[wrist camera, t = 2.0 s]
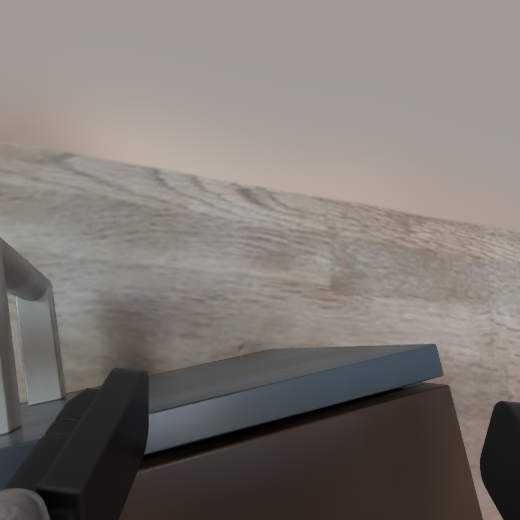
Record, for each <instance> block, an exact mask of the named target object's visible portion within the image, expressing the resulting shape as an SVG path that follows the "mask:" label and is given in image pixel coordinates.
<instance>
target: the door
mask: <svg viewBox="0 0 520 520" xmlns="http://www.w3.org/2000/svg"><path fill="white" fill-rule="evenodd" d="M7 292H8V293H10V294H12V295H14V296H15V300H16V309H17V317H18V326H19V334H20V343H21V351H22V359H23V368H24V376H25V385H26V393H27V402H25V403H19V395H18V386H17V377H16V369H15V360H14V351H13V343H12V334H11V326H10V317H9V308H8V300H7ZM440 376H443V371H442V367H441V363H440V359H439V355H438V351H437V347H436V345H435V344H416V345H385V346H353V347H321V348H289V349H270V350H265V351H260V352H256V353H251V354H246V355H242V356H237V357H233V358H228V359H223V360H219V361H214V362H210V363H205V364H200V365H196V366H191V367H186V368H182V369H177V370H173V371H168V372H163V373H159V374H154V375H150V376H148V377H149V432H148V440H147V445H146V450H145V453H144V455H148V454H152V453H155V452H159V451H163V450H167V449H170V448H174V447H178V446H182V445H185V444H189V443H193V442H197V441H200V440H204V439H208V438H212V437H215V436H219V435H223V434H227V433H230V432H234V431H238V430H242V429H245V428H249V427H253V426H257V425H260V424H264V423H268V422H272V421H275V420H279V419H283V418H287V417H290V416H294V415H298V414H302V413H305V412H309V411H313V410H317V409H320V408H324V407H328V406H332V405H335V404H339V403H343V402H347V401H350V400H354V399H358V398H362V397H365V396H369V395H373V394H377V393H380V392H384V391H388V390H392V389H395V388H399V387H403V386H407V385H410V384H414V383H418V382H422V381H425V380H429V379H433V378H437V377H440ZM100 388H101V386H99V387H94V388H90V389H100ZM82 391H84V390H80V391H76V392H71V393H66V389H65V382H64V374H63V366H62V359H61V351H60V343H59V336H58V328H57V321H56V313H55V305H54V298H53V290H52V284H51V282H50V281H49V280H48V279H47V278H46V277H45V276H44V275H43V274H42V273H41V272H39V271H38V270H37V269H36V268H35V267H34V266H33V265H31V264H30V263H29V262H28V261H27V260H26V259H25V258H23V257H22V256H21V255H20V254H19V253H18V252H17V251H15V250H14V249H13V248H12V247H11V246H10V245H9V244H8V243H6V242H5V241H4V240H3V239H2V238H1V237H0V490H3V489H4V488H5V487H6V485H7V484H8V482H9V481H10V480H11V478H12V477H13V476H14V474H15V473H16V472H17V470H18V469H19V467H20V466H21V465H22V463H23V462H24V461H25V459H26V458H27V456H28V455H29V454H30V452H31V451H32V450H33V448H34V447H35V445H36V444H37V443H38V441H39V440H40V439H41V437H42V436H43V435H45V433H46V430H47V429H48V428H49V426H50V425H51V424H52V422H53V421H55V420H56V417H57V415H58V414H59V413H60V411H61V410H62V409H63V407H64V406H65V404H66V403H67V402H68V401H69V400H70V399H72V398H73V397H75V396H76V395H78V394H79V393H81V392H82Z"/></svg>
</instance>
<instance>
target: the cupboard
mask: <svg viewBox="0 0 520 520" xmlns="http://www.w3.org/2000/svg"><path fill="white" fill-rule="evenodd" d="M119 520H483V518H482V514H481V510H480V506H479V502H478V499H477V495H476V491H475V487H474V483H473V479H472V475H471V471H470V467H469V463H468V459H467V455H466V451H465V447H464V443H463V439H462V435H461V431H460V427H459V423H458V419H457V415H456V411H455V407H454V403H453V399H452V395H451V391H450V387H449V386H448V385H444V384H434V383H425V382H418V383H414V384H410V385H407V386H403V387H399V388H395V389H392V390H388V391H384V392H380V393H377V394H373V395H369V396H365V397H362V398H358V399H354V400H350V401H347V402H343V403H339V404H335V405H332V406H328V407H324V408H320V409H317V410H313V411H309V412H305V413H302V414H298V415H294V416H290V417H287V418H283V419H279V420H275V421H272V422H268V423H264V424H260V425H257V426H253V427H249V428H245V429H242V430H238V431H234V432H230V433H227V434H223V435H219V436H215V437H212V438H208V439H204V440H200V441H197V442H193V443H189V444H185V445H182V446H178V447H174V448H170V449H167V450H163V451H159V452H155V453H152V454H148V455H144V456H143V459H142V462H141V464H140V467H139V469H138V472H137V474H136V477H135V479H134V482H133V485H132V487H131V490H130V492H129V495H128V497H127V500H126V503H125V505H124V508H123V510H122V513H121V515H120V518H119Z"/></svg>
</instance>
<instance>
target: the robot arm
mask: <svg viewBox="0 0 520 520" xmlns="http://www.w3.org/2000/svg"><path fill="white" fill-rule="evenodd" d="M148 432H149V377H148V372H147V371H144V370H132V369H120V368H114V369H113V370H112V371H111V372H110V374H109V375H108V377H107V379H106V380H105V382H104V383H103V385H102V386H101V388H100V389H90V388H87V389H85V390H84V391H82V392H81V393H79V394H78V395H76V396H75V397H73V398H72V399H70V400H69V401H68V402H67V403H66V404H65V406H64V407H63V409H62V410H61V411H60V413H59V414H58V415H57V417H56V420H55V421H53V422H52V424H51V425H50V426H49V428H48V429H47V430H46V433H45V435H43V436H42V437H41V439H40V440H39V441H38V443H37V444H36V445H35V447H34V448H33V450H32V451H31V452H30V454H29V455H28V456H27V458H26V459H25V461H24V462H23V463H22V465H21V466H20V467H19V469H18V470H17V472H16V473H15V474H14V476H13V477H12V478H11V480H10V481H9V482H8V484H7V485H6V487H5V488H4V489H3V490H0V520H119V518H120V515H121V513H122V510H123V508H124V505H125V503H126V500H127V497H128V495H129V492H130V490H131V487H132V485H133V482H134V479H135V477H136V474H137V472H138V469H139V467H140V464H141V462H142V459H143V456H144V453H145V450H146V445H147V440H148ZM480 471H481V477H482V480H483V483H484V485H485V488H486V489H487V491H488V493H489V495H490V497H491V498H492V500H493V502H494V504H495V505H496V507H497V509H498V511H499V513H500V514H501V516H502V518H503V520H520V403H518V402H506V401H500V402H498V403H497V404H496V405H495V407H494V409H493V412H492V416H491V420H490V423H489V427H488V431H487V435H486V438H485V442H484V446H483V449H482V453H481V457H480Z"/></svg>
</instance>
